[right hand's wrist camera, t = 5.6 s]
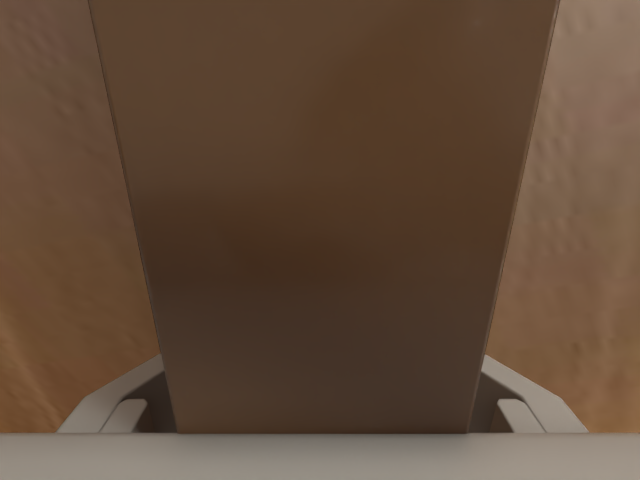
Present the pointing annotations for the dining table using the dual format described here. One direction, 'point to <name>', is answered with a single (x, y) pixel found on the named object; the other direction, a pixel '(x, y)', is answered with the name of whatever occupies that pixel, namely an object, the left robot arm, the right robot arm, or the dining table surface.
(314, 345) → the beam
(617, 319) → the dining table surface
